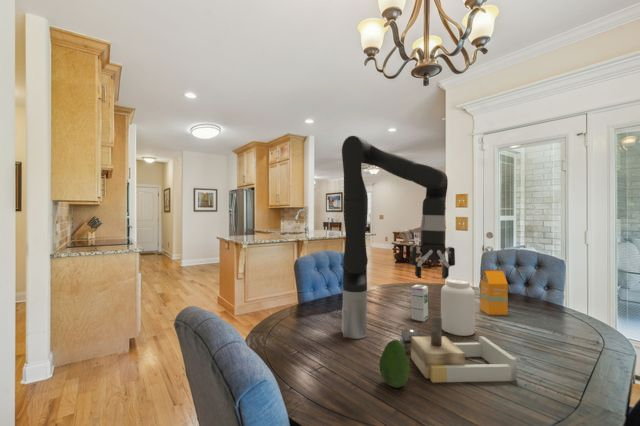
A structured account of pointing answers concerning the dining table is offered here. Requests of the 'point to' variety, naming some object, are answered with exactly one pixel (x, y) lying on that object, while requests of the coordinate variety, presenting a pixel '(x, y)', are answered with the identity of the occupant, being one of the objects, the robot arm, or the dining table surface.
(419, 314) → the syrup box
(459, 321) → the white plastic bottle
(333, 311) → the dining table surface
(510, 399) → the dining table surface
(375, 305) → the dining table surface
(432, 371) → the frame
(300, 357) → the dining table surface
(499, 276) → the orange juice
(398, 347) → the avocado
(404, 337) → the drum
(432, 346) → the box with grey peg
